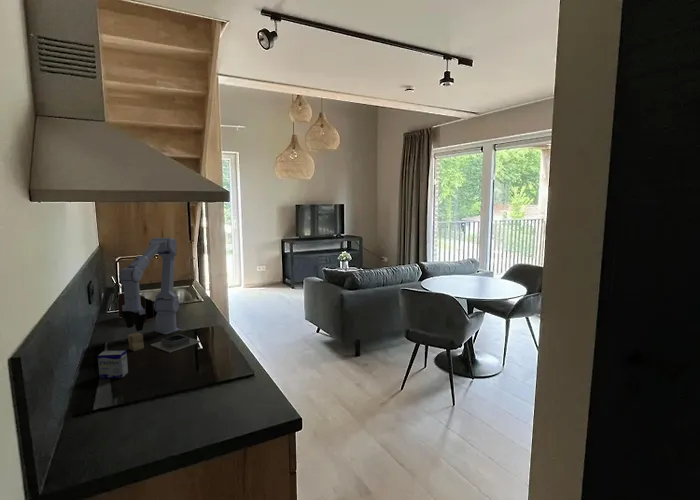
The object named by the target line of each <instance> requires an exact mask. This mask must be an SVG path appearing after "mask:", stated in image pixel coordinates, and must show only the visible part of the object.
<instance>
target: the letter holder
mask: <svg viewBox="0 0 700 500" xmlns="http://www.w3.org/2000/svg"><path fill="white" fill-rule="evenodd" d="M117 298H118V300H117V303H118V318H119V317H122V318H123V316H122V315H121V314H120V312H122V305H125V299H124V292H123V293H119V294H117ZM140 300H141V306H142V308H143V309H145V313H147V316H146V318H145V321H144V323H147V322H151V321H153V319H154V320H155V317H156V314H157V312H156V311H155V309H154V302H155V300H152V299H150V298H146V297H145V296H143V295H141V294H140ZM135 314H136V313H135Z"/></svg>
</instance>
